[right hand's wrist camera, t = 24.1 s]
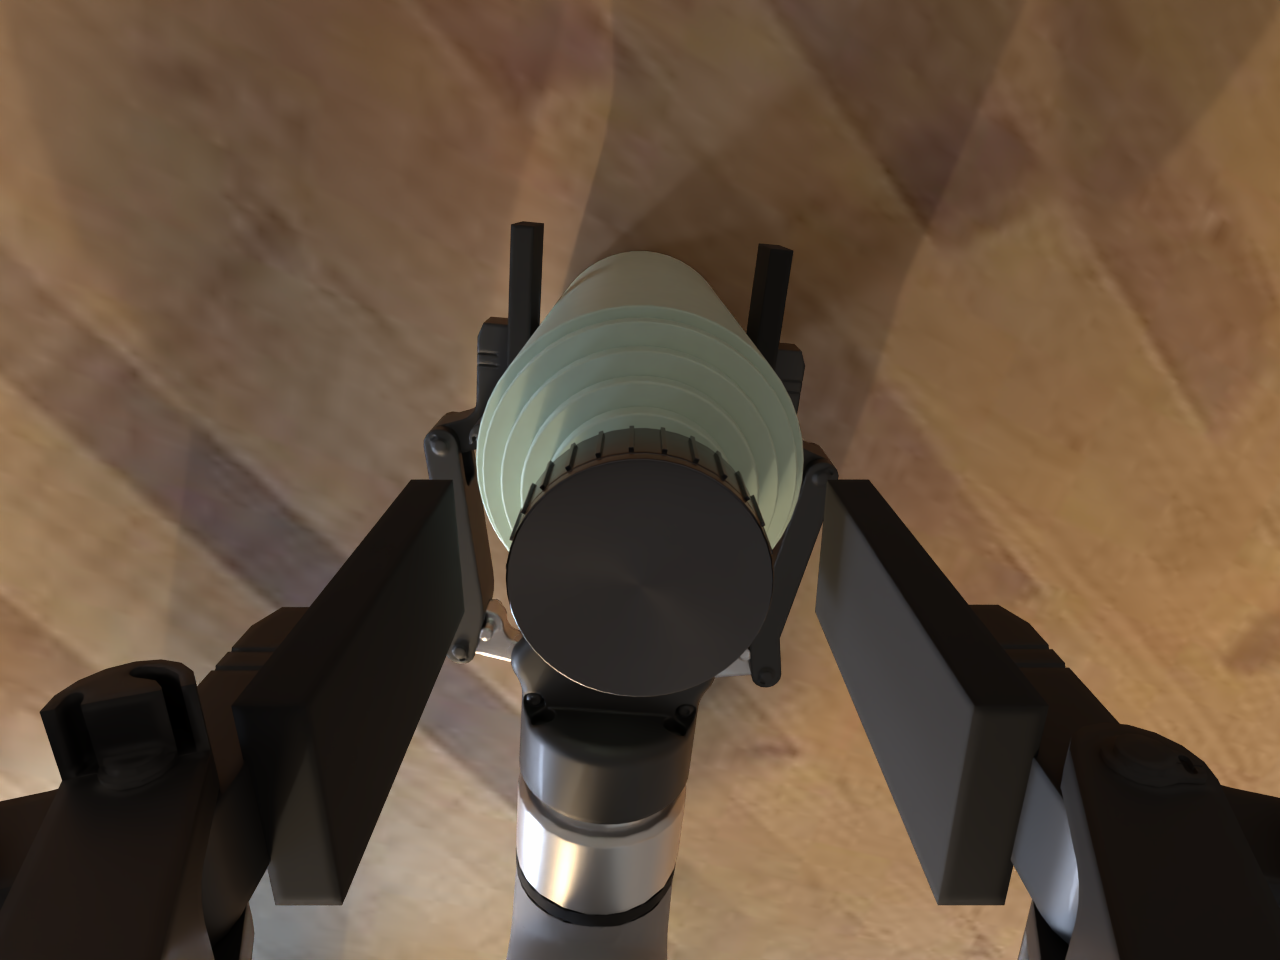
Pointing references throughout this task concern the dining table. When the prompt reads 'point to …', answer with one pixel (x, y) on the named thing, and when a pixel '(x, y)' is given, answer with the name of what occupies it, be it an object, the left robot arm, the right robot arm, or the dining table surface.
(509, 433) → the bottle
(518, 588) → the cap
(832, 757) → the dining table surface
